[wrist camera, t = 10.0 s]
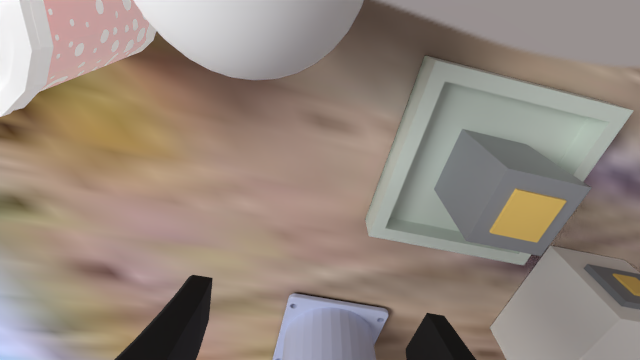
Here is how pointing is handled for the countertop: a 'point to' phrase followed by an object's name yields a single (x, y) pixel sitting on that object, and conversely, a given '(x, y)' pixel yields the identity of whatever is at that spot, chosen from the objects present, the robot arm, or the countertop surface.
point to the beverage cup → (63, 42)
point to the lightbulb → (252, 32)
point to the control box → (573, 310)
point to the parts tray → (486, 118)
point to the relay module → (507, 193)
